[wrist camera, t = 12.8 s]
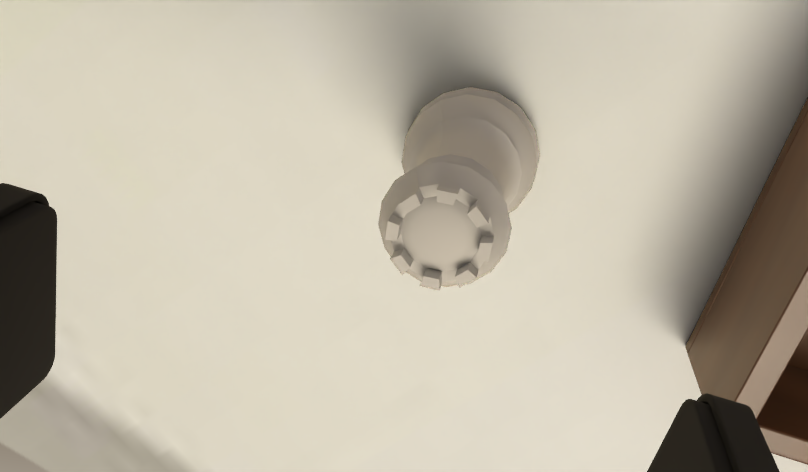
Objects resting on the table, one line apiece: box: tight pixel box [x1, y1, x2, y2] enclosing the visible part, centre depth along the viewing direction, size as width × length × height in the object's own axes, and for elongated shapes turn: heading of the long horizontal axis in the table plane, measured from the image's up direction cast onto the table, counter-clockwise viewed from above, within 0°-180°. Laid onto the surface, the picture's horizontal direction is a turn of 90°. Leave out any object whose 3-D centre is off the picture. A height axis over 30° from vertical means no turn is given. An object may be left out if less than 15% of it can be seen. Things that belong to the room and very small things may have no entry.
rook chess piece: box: [379, 87, 540, 290], centre depth 20 cm, size 4×4×8 cm
